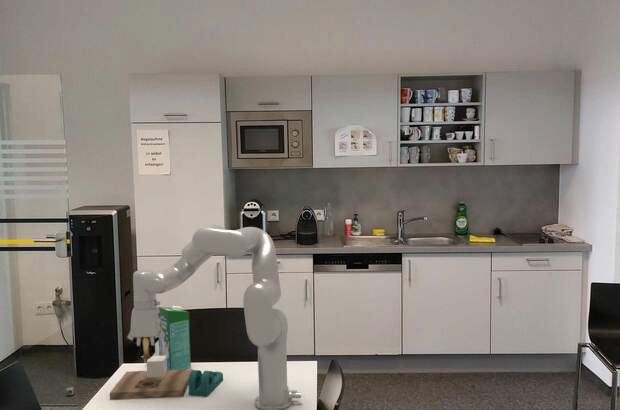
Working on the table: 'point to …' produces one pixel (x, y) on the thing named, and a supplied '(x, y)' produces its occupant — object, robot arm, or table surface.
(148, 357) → the brass pin
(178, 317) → the milk carton
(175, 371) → the walnut board
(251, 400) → the table surface
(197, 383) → the bracket
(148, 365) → the cream cube
